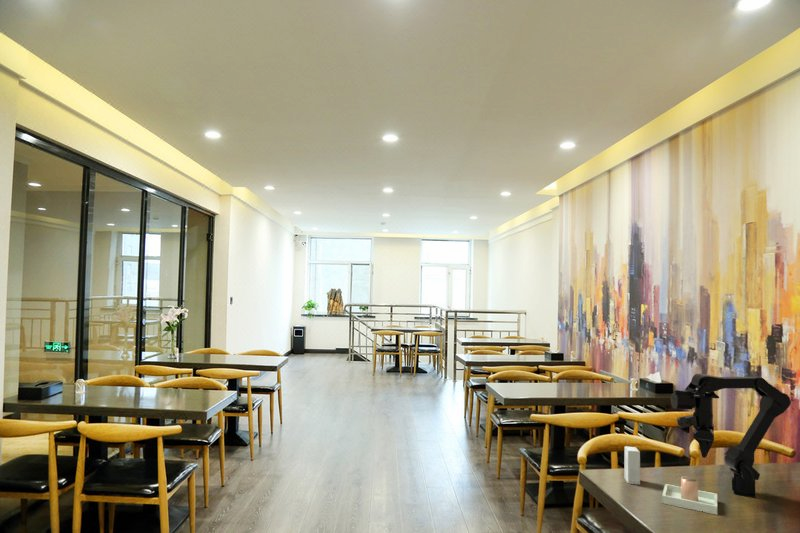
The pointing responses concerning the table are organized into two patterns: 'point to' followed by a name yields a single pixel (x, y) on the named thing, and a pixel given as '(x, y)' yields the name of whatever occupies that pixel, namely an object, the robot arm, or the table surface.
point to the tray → (705, 500)
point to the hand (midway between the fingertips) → (704, 454)
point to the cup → (689, 488)
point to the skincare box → (632, 465)
